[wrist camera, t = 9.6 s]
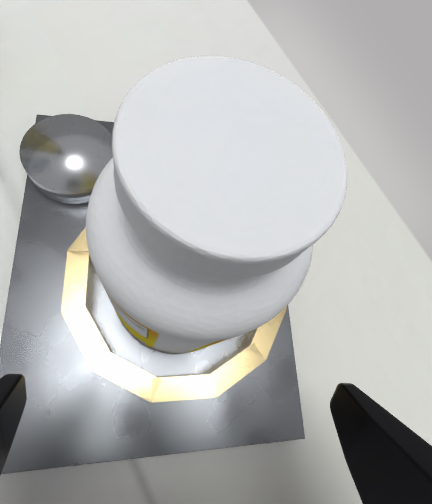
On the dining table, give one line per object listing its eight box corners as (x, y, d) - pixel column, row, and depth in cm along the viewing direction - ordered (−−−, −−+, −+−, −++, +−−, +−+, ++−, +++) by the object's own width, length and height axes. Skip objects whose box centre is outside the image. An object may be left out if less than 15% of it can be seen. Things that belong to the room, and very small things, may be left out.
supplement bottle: (241, 252, 20) (393, 77, 8) (223, 365, 17) (405, 361, 5) (132, 224, 19) (116, -22, 7) (96, 340, 16) (-24, 265, 4)
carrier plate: (296, 434, 18) (324, 447, 15) (-11, 469, 14) (-47, 493, 12) (261, 146, 24) (277, 118, 21) (41, 125, 21) (25, 88, 18)
